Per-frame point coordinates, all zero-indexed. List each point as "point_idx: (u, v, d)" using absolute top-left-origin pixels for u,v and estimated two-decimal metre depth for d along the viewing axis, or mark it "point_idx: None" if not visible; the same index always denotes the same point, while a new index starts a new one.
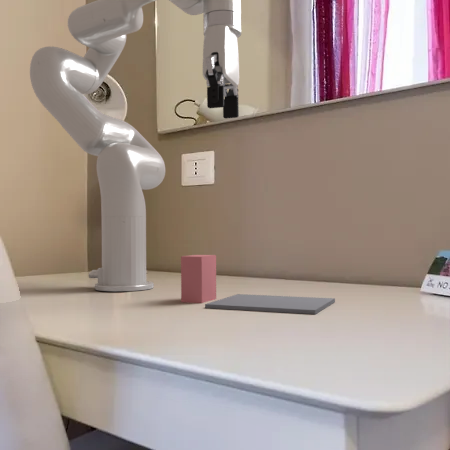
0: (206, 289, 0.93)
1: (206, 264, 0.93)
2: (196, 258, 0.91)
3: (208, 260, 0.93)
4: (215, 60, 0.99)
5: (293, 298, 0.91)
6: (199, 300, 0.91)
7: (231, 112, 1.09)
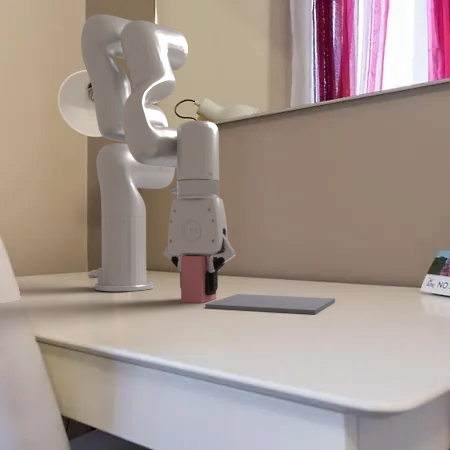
0: None
1: (206, 264, 0.93)
2: (196, 258, 0.91)
3: None
4: None
5: (293, 298, 0.91)
6: (199, 300, 0.91)
7: None
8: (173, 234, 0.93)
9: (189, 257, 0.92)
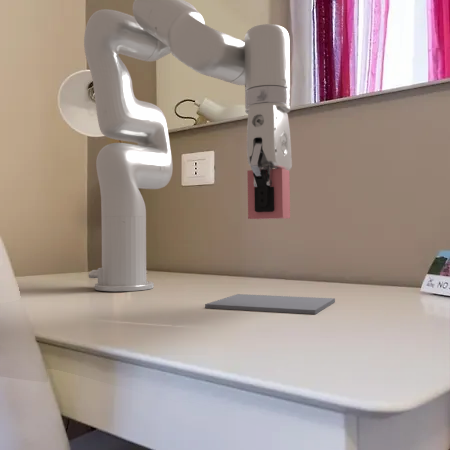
0: None
1: None
2: (287, 172, 0.88)
3: None
4: None
5: (293, 298, 0.91)
6: (289, 216, 0.88)
7: None
8: (277, 143, 0.84)
9: (285, 170, 0.87)
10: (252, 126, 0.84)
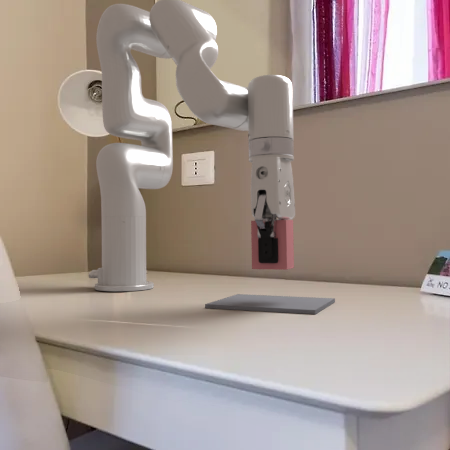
0: None
1: None
2: (291, 222, 0.87)
3: None
4: None
5: (293, 298, 0.91)
6: (293, 265, 0.88)
7: None
8: (281, 195, 0.83)
9: (289, 221, 0.86)
10: (256, 178, 0.84)
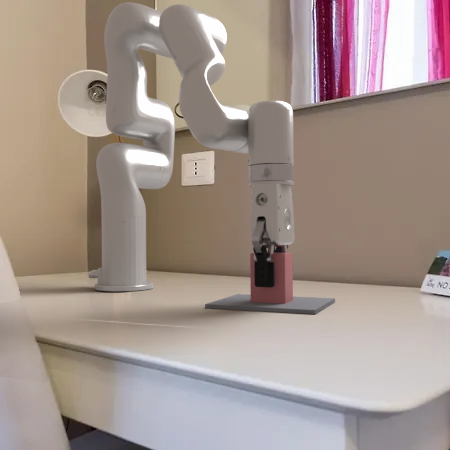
0: None
1: None
2: (290, 254, 0.88)
3: None
4: None
5: (293, 298, 0.91)
6: (291, 298, 0.88)
7: None
8: (280, 222, 0.84)
9: (288, 254, 0.86)
10: (256, 204, 0.84)
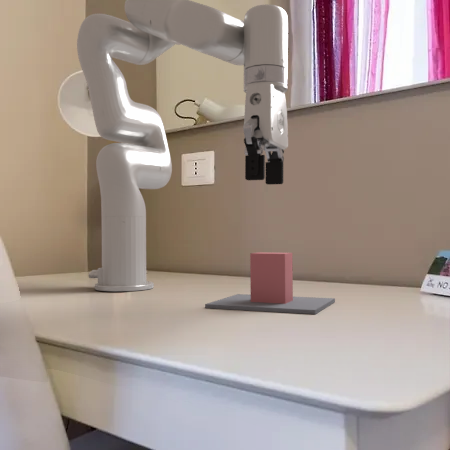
0: None
1: None
2: (290, 254, 0.88)
3: None
4: None
5: (293, 298, 0.91)
6: (291, 298, 0.88)
7: None
8: (273, 121, 0.86)
9: (288, 254, 0.86)
10: (250, 104, 0.86)
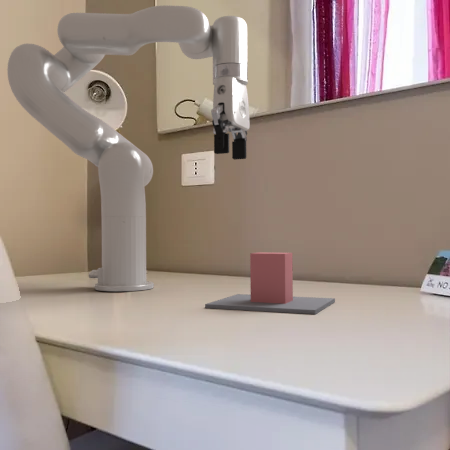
0: None
1: None
2: (290, 254, 0.88)
3: None
4: None
5: (293, 298, 0.91)
6: (291, 298, 0.88)
7: None
8: (235, 107, 1.09)
9: (288, 254, 0.86)
10: (217, 94, 1.10)
